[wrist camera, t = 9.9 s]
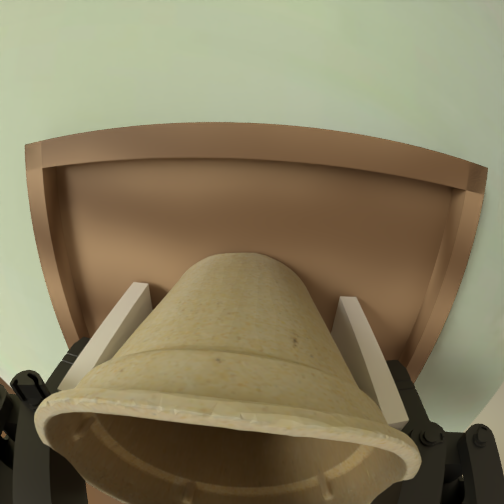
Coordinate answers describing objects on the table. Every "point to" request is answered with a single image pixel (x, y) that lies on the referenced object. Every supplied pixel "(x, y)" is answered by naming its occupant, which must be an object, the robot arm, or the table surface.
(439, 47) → the table surface
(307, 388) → the flower pot
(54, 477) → the robot arm
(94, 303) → the tray
